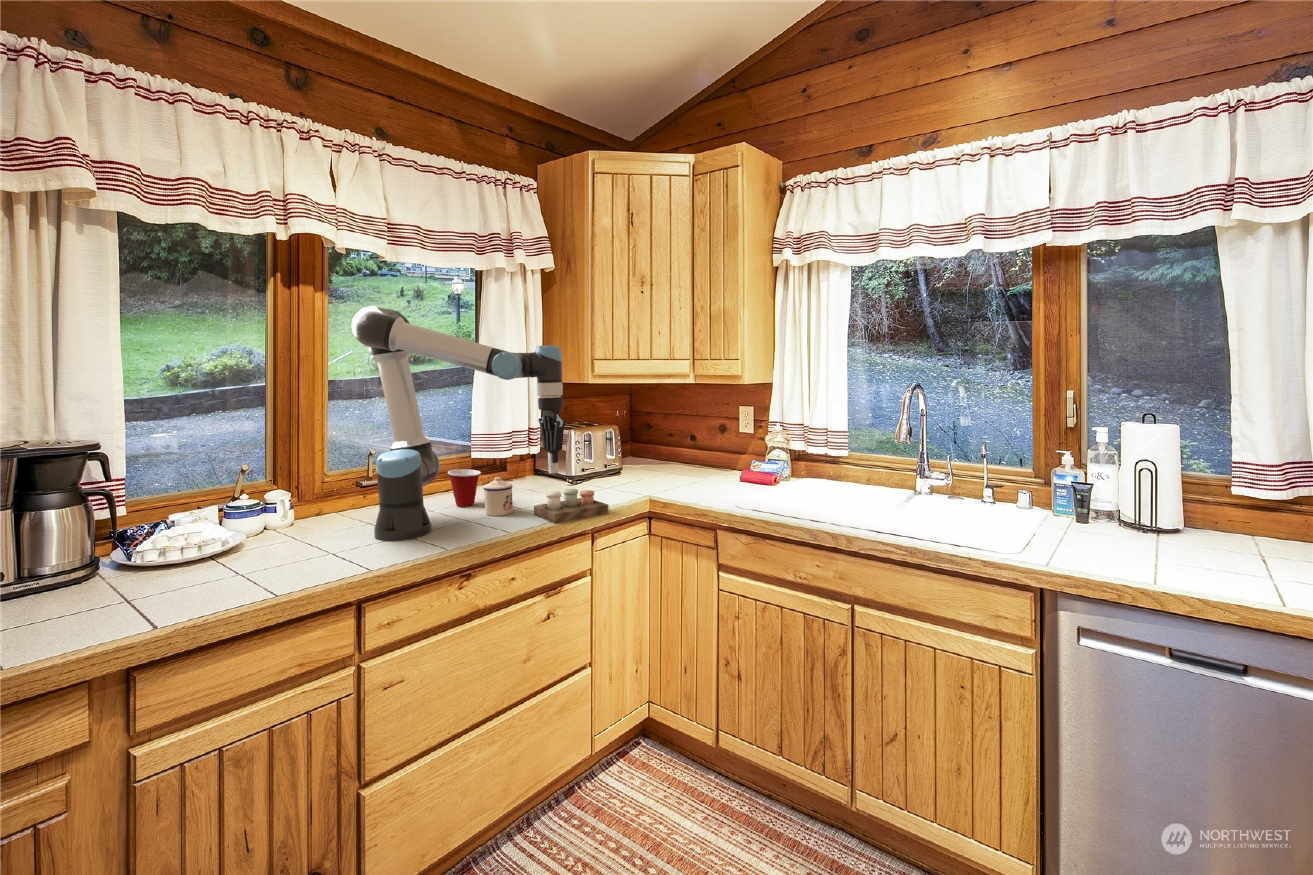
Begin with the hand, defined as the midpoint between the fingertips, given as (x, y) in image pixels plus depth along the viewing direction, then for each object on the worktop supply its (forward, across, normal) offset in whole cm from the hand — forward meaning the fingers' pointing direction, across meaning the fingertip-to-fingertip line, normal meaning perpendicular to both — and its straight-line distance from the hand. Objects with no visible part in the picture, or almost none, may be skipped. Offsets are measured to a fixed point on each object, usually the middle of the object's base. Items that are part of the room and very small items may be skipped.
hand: (553, 472), depth 190 cm
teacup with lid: (+14, +18, +10) cm, 25 cm away
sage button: (+12, 0, -6) cm, 13 cm away
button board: (+14, 0, -6) cm, 15 cm away
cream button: (+12, 0, 0) cm, 12 cm away
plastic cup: (+14, +34, +16) cm, 40 cm away
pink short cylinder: (+13, 0, -12) cm, 17 cm away
